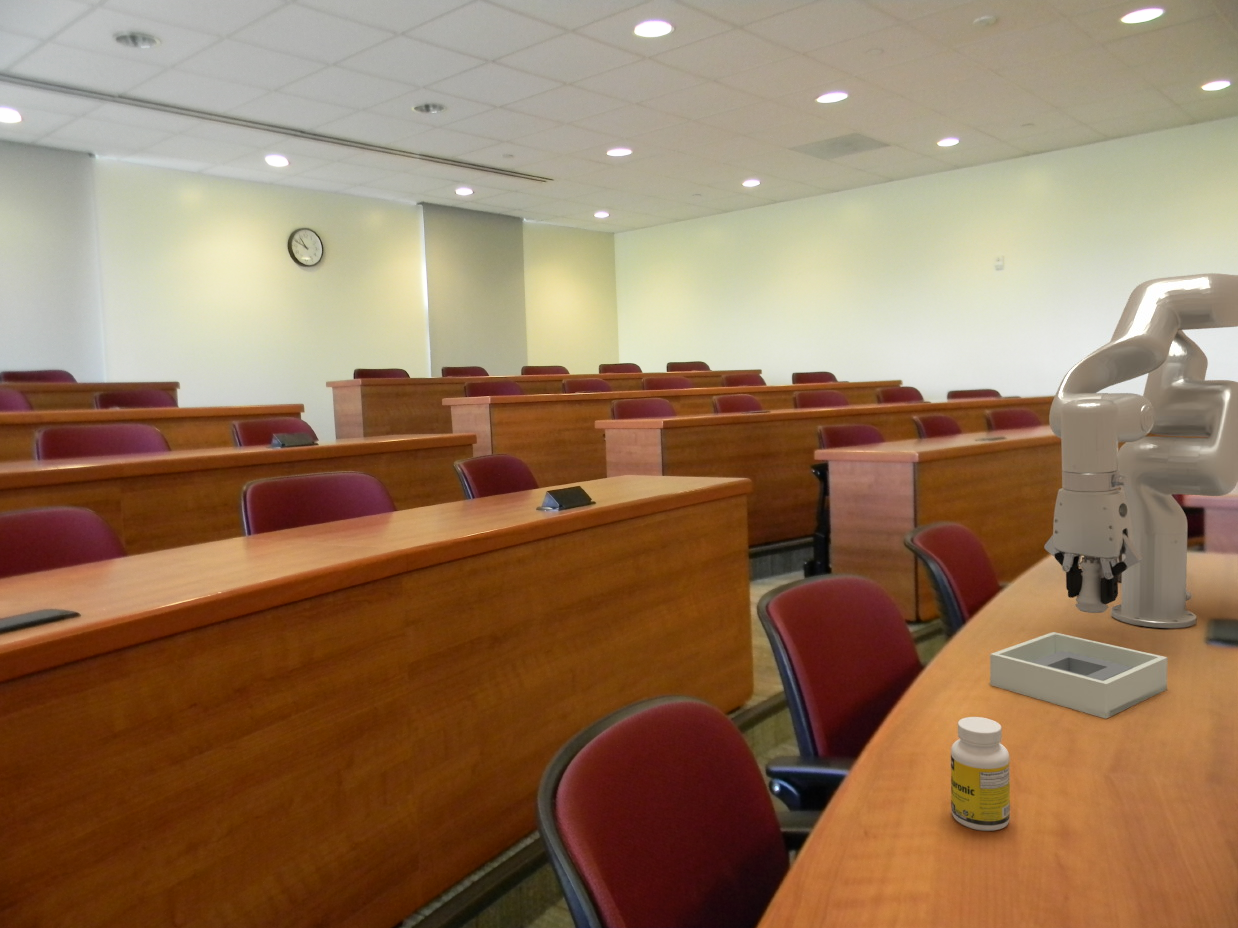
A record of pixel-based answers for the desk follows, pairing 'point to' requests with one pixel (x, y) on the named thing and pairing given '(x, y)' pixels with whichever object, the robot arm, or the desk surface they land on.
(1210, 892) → the desk surface
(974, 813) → the supplement bottle
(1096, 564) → the rook chess piece
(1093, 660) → the box
